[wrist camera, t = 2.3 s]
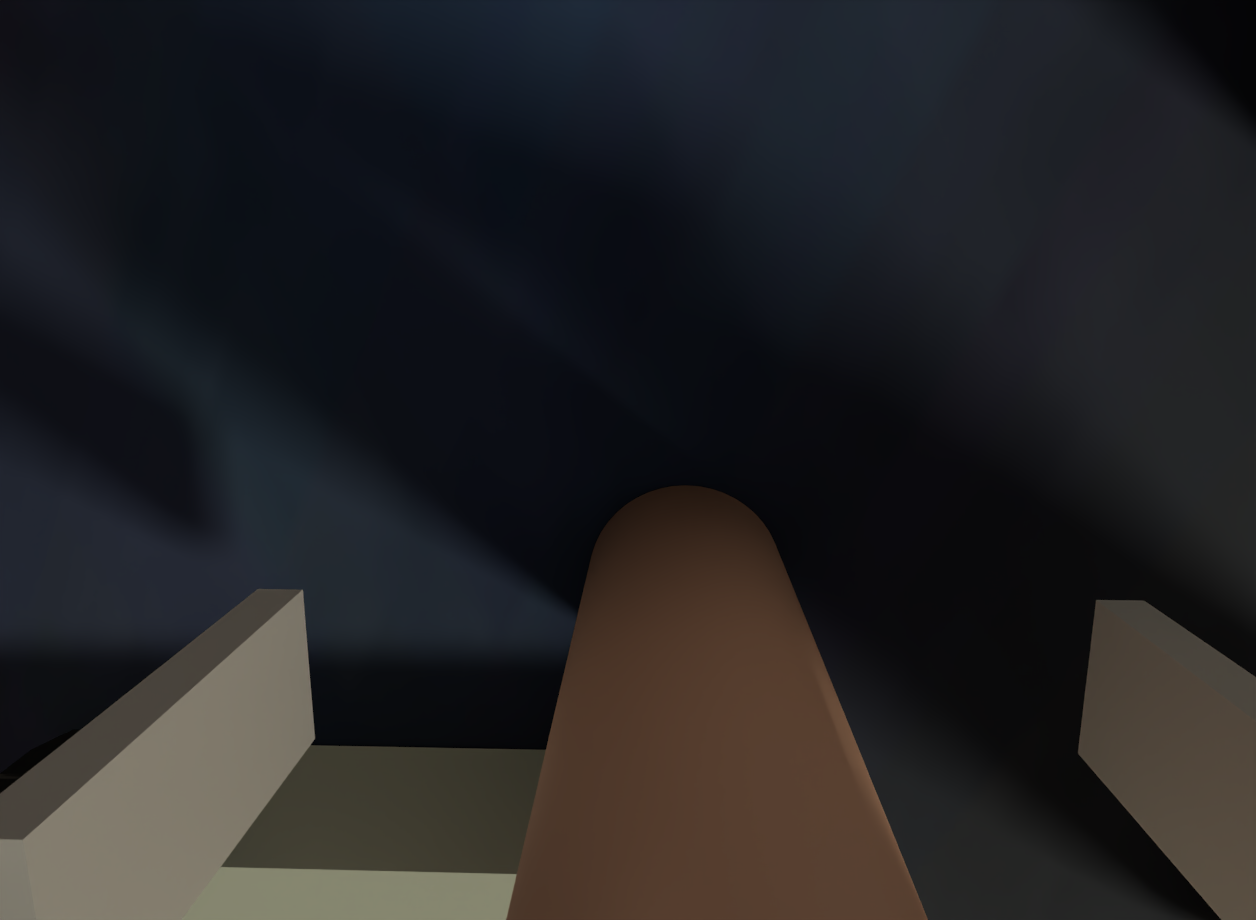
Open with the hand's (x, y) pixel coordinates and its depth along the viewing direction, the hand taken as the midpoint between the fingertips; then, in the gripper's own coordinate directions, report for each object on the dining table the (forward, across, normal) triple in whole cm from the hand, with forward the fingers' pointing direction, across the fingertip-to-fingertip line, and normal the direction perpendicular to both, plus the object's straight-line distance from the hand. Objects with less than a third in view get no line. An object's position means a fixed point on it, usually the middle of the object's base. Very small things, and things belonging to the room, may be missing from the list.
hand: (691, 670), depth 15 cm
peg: (+4, 0, 0) cm, 4 cm away
